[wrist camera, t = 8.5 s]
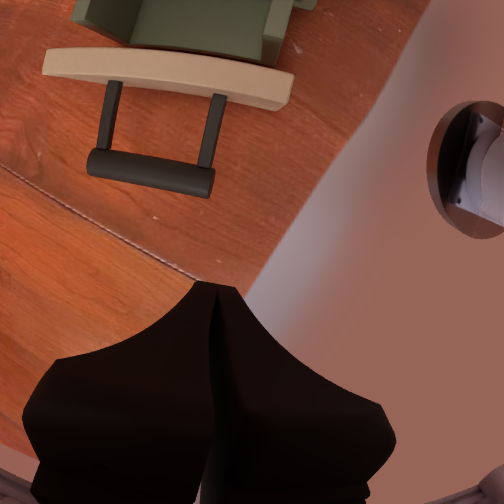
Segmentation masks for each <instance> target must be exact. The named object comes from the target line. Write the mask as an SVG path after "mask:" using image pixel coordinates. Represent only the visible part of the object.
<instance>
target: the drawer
mask: <svg viewBox="0 0 504 504" xmlns="http://www.w3.org/2000/svg"><path fill="white" fill-rule="evenodd" d="M293 4H294V0H76V3H75V6H74V9H73V12H72V15H71V19H70V20H71V21H73V22H75V23H77V24H79V25H82V26H84V27H86V28H88V29H90V30H93V31H95V32H97V33H99V34H101V35H103V36H105V37H107V38H109V39H111V40H114V41H116V42H118V43H119V44H121V45H123V46H140V47H154V48H165V49H175V50H184V51H192V52H199V53H206V54H212V55H218V56H224V57H230V58H235V59H241V60H246V61H250V62H255V63H260V64H264V65H269V66H273V67H274V66H275V65H276V62H277V59H278V56H279V53H280V50H281V46H282V43H283V40H284V37H285V33H286V30H287V26H288V22H289V18H290V15H291V11H292V7H293ZM42 74H43V75H50V76H57V77H64V78H71V79H77V80H84V81H90V82H95V83H101V84H106V85H107V88H106V93H105V98H104V103H103V108H102V114H101V120H100V126H99V132H98V138H97V145H96V148H94V149H92V150H91V152H90V154H89V156H88V159H87V173H88V174H89V175H90V176H94V177H100V178H105V179H110V180H116V181H121V182H126V183H131V184H137V185H142V186H147V187H152V188H157V189H162V190H167V191H172V192H176V193H181V194H186V195H191V196H195V197H200V198H205V199H209V197H210V194H211V191H212V187H213V183H214V178H215V169H214V168H211V167H212V163H213V158H214V154H215V149H216V145H217V140H218V136H219V132H220V127H221V123H222V119H223V115H224V110H225V106H226V102H227V101H230V102H235V103H240V104H245V105H249V106H254V107H258V108H262V109H267V110H271V111H277V110H279V109H280V108H282V107H283V106H285V105H286V104H287V103H288V101H289V97H290V93H291V89H292V85H293V81H294V75H293V74H291V73H287V72H283V71H279V70H275V69H271V68H267V67H262V66H258V65H253V64H248V63H243V62H238V61H233V60H228V59H222V58H216V57H210V56H203V55H196V54H189V53H181V52H172V51H162V50H150V49H136V48H114V47H72V48H50V49H47V52H46V56H45V60H44V65H43V69H42ZM122 86H130V87H140V88H149V89H157V90H165V91H172V92H179V93H185V94H192V95H198V96H204V97H209V98H212V100H211V104H210V108H209V112H208V117H207V121H206V126H205V130H204V134H203V139H202V144H201V148H200V153H199V158H198V163H197V165H195V164H190V163H184V162H179V161H174V160H169V159H163V158H158V157H152V156H147V155H141V154H135V153H129V152H123V151H117V150H110V149H111V145H112V139H113V133H114V127H115V121H116V116H117V110H118V105H119V100H120V95H121V91H122Z"/></svg>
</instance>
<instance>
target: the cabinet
mask: <svg viewBox="0 0 504 504" xmlns="http://www.w3.org/2000/svg"><path fill="white" fill-rule="evenodd" d="M317 1H318V0H294V4H293V6H294V7H298V8H302V9H306V10H309V11H312V10H313V8H314V7H315V5H316V3H317Z"/></svg>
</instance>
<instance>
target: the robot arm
mask: <svg viewBox="0 0 504 504" xmlns="http://www.w3.org/2000/svg"><path fill="white" fill-rule="evenodd" d="M479 118H480V122H479ZM457 198H459V201H458V202H457ZM448 201H449V203H451V204H453V205H455V206H457V207H460V208H462V209H465V210H467V211H469V212H472V213H474V214H476V215H478V216H481V217H483V218H485V219H487V220H490V221H492V222H494V223H496V224H498V225H501V226H503V227H504V129H503V128H502V127H500V126H499V125H497V124H496V123H494V122H493V121H491V120H490V119H488V118H486V117H485V116H483V115H482V114H480V113H478V112H476V111H473V112H471V114H470V117H469V122H468V126H467V130H466V135H465V139H464V143H463V146H462V150H461V154H460V158H459V161H458V165H457V168H456V172H455V175H454V179H453V182H452V185H451V188H450V191H449V194H448ZM22 421H23V425H24V429H25V431H26V434H27V436H28V438H29V440H30V442H31V445H32V447H33V449H34V451H35V453H36V455H37V457H38V459H39V461H40V464H39V466H38V469H37V472H36V474H35V477H34V480H33V482H32V483H31V482H29V481H27V480H25V479H22V478H20V477H18V476H16V475H14V474H12V473H9V472H7V471H5V470H3V469H1V468H0V504H193V502H195V500H196V497H197V493H198V490H199V486H200V483H201V491H200V504H366V501H365V499H367V498H368V497H369V496H370V490H369V487H368V485H367V481H368V480H369V479H370V478H371V477H372V476H373V475H374V474H375V473H376V472H377V471H378V470H379V469H380V468H381V467H382V466H383V465H384V463H385V462H386V461H387V460H388V458H389V457H390V455H391V454H392V452H393V451H394V448H395V445H396V437H395V433H394V431H393V429H392V427H391V425H390V423H389V421H388V419H387V417H386V414H385V412H384V410H383V408H382V407H381V405H380V404H378V403H375V402H373V401H370V400H368V399H366V398H363V397H361V396H359V395H356V394H354V393H352V392H349V391H347V390H345V389H343V388H342V387H340V386H338V385H336V384H334V383H332V382H331V381H328V380H327V379H325V378H324V377H322V376H321V375H319V374H317V373H316V372H314V371H313V370H312V369H310V368H309V367H307V366H306V365H304V364H303V363H302V362H300V361H299V360H298V359H296V358H295V357H294V356H293V355H291V354H290V353H289V352H288V351H287V350H286V349H285V348H284V347H283V346H281V345H280V344H279V343H278V342H277V341H276V340H275V339H274V338H273V337H272V336H271V335H270V334H269V332H268V331H267V330H266V329H265V328H264V327H263V326H262V324H261V323H260V322H259V321H258V319H257V318H256V317H255V316H254V314H253V313H252V312H251V310H250V309H249V307H248V306H247V304H246V303H245V301H244V300H243V298H242V297H241V295H240V294H239V292H238V291H237V289H236V288H235V287H231V286H226V285H220V284H215V283H209V282H204V281H199V280H198V281H196V282H195V283H194V284H193V286H192V288H191V289H190V290H189V292H188V293H187V294H186V295H185V296H184V297H183V298H182V299H181V300H180V301H179V302H178V304H177V305H176V306H175V307H173V308H172V309H171V310H170V311H169V312H168V313H166V314H165V315H164V316H163V317H162V318H161V319H159V320H158V321H157V322H155V323H154V324H152V325H151V326H149V327H148V328H146V329H145V330H143V331H141V332H140V333H138V334H136V335H134V336H132V337H130V338H128V339H126V340H124V341H122V342H119V343H117V344H114V345H112V346H109V347H106V348H103V349H100V350H97V351H94V352H90V353H86V354H81V355H77V356H72V357H68V358H63V359H57V360H55V362H54V363H53V365H52V366H51V367H50V368H49V369H48V371H47V372H46V373H45V374H44V376H43V377H42V378H41V380H40V381H39V383H38V384H37V386H36V388H35V390H34V391H33V393H32V395H31V397H30V399H29V400H28V402H27V404H26V406H25V408H24V410H23V415H22ZM426 504H504V465H502V466H499V467H497V468H496V469H494V470H493V471H491V472H490V473H489V474H488V475H487V476H486V477H485V478H483V480H481V481H480V482H479V484H478V485H476V486H473V487H471V488H468V489H466V490H463V491H461V492H458V493H455V494H453V495H450V496H447V497H444V498H441V499H438V500H435V501H432V502H429V503H426Z"/></svg>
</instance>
